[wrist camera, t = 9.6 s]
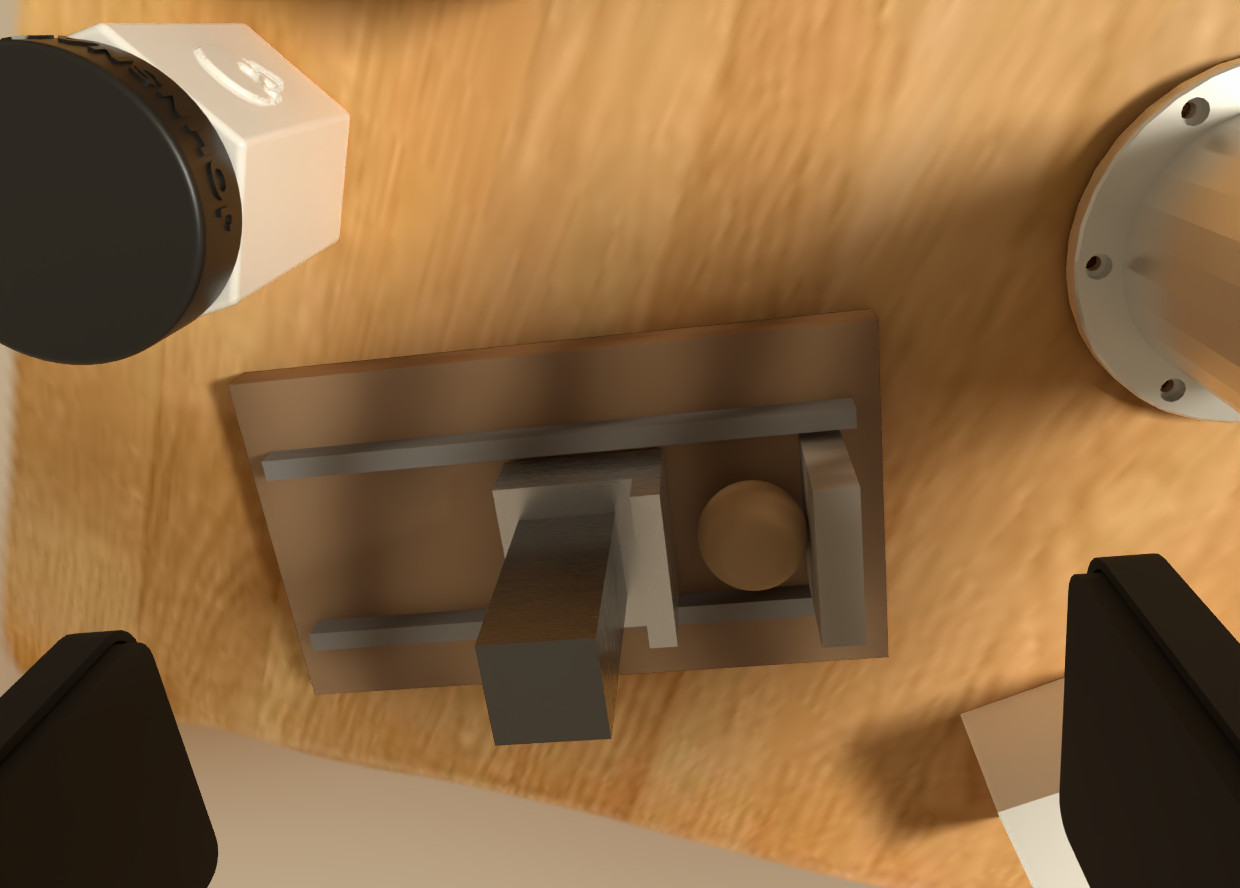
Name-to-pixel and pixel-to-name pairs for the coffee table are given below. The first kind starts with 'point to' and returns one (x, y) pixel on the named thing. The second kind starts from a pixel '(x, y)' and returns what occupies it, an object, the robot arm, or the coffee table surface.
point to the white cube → (1028, 779)
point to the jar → (154, 182)
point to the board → (565, 427)
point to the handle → (574, 590)
